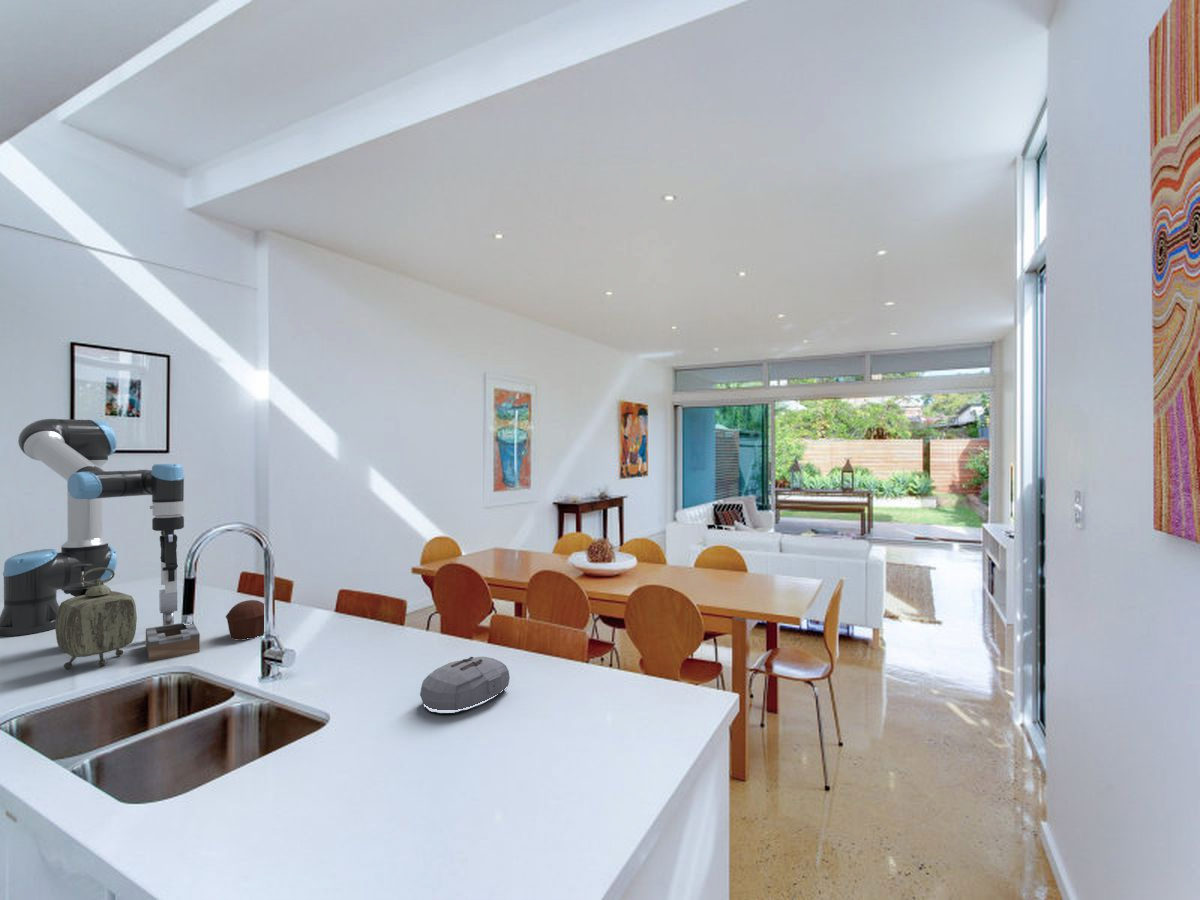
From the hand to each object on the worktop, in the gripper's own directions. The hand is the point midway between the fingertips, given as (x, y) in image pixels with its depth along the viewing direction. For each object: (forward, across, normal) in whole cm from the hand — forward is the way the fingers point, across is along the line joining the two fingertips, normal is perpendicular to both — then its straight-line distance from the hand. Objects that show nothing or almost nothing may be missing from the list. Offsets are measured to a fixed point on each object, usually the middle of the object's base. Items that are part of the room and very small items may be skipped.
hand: (168, 588), depth 173 cm
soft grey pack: (+16, +93, +47) cm, 105 cm away
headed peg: (+15, 0, 0) cm, 15 cm away
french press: (+15, -8, -19) cm, 25 cm away
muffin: (+15, +12, +18) cm, 26 cm away
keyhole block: (+15, +12, 0) cm, 19 cm away
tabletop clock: (+15, +14, -16) cm, 26 cm away
